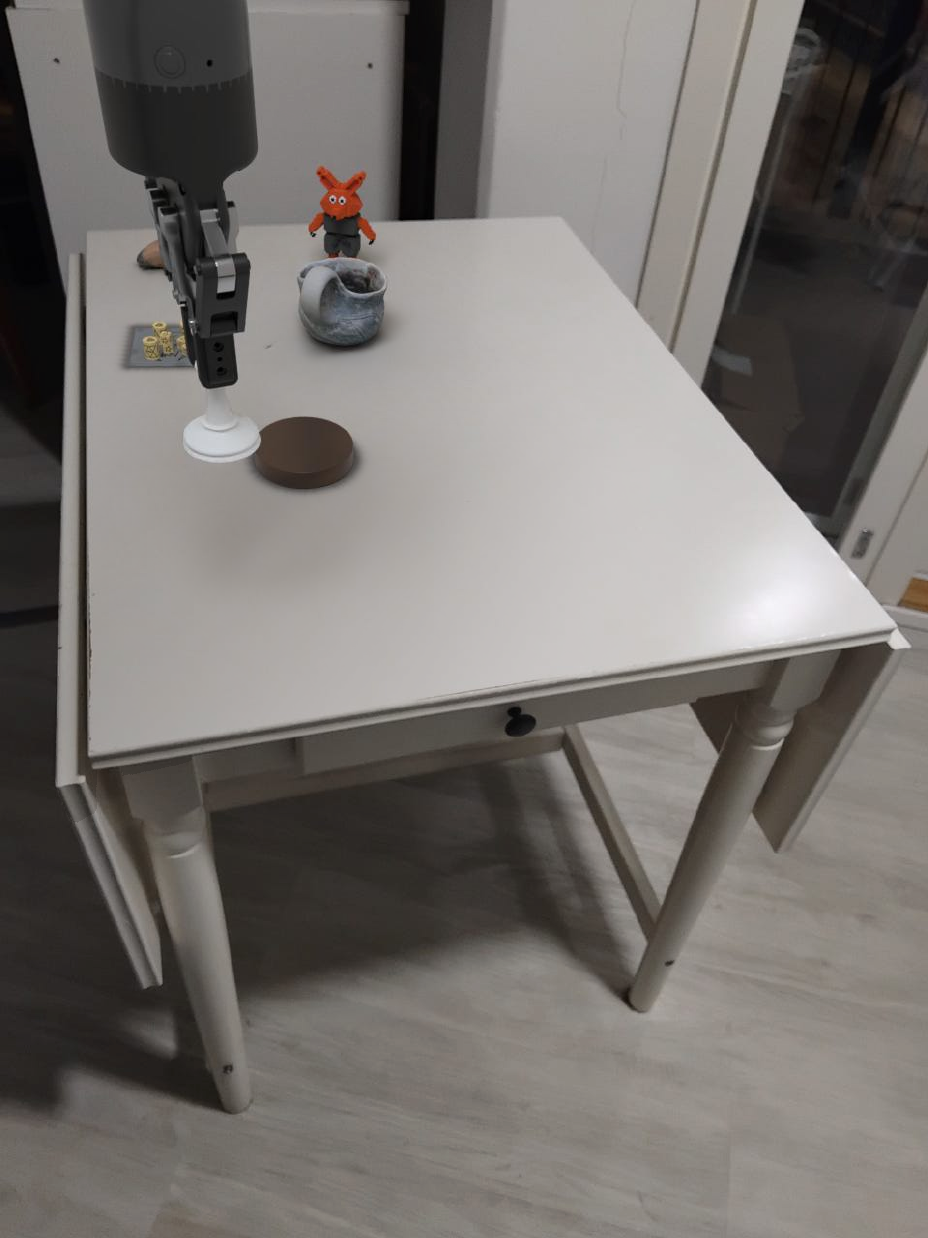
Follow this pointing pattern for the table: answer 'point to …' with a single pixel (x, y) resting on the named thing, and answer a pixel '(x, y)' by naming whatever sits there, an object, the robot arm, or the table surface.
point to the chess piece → (220, 431)
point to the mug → (341, 300)
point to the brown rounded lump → (151, 255)
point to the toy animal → (341, 215)
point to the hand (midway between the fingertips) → (212, 371)
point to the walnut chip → (304, 452)
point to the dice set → (159, 346)
